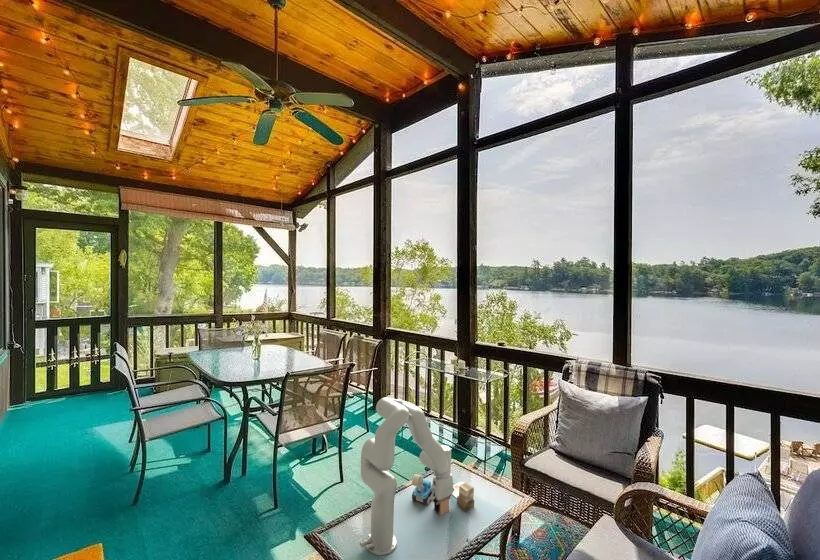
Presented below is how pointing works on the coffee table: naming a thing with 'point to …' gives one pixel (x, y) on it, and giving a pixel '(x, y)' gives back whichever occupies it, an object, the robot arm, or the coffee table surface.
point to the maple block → (466, 492)
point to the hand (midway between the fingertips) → (441, 508)
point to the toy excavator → (421, 489)
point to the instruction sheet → (456, 489)
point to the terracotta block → (444, 505)
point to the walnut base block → (465, 504)
